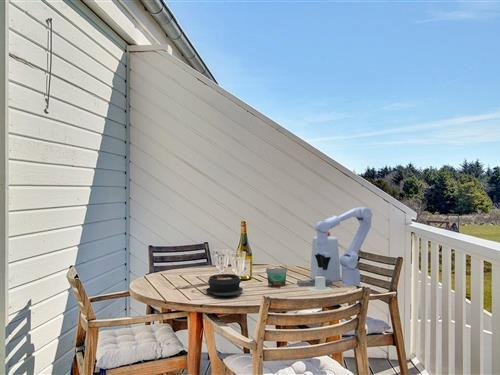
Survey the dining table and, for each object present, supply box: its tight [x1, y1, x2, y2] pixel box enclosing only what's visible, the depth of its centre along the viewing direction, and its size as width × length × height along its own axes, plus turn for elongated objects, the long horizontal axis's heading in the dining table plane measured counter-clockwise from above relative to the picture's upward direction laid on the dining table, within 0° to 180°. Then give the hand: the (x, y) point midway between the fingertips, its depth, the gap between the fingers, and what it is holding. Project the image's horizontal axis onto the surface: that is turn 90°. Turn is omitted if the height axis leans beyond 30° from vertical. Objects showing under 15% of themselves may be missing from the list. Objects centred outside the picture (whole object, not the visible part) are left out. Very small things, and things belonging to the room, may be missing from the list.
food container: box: [265, 266, 289, 288], centre depth 211 cm, size 12×6×10 cm, turn 105°
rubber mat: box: [307, 286, 334, 292], centre depth 203 cm, size 12×8×1 cm, turn 98°
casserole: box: [205, 273, 244, 297], centre depth 197 cm, size 25×19×8 cm
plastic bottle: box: [310, 231, 342, 282], centre depth 229 cm, size 15×15×28 cm
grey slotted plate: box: [296, 279, 333, 288], centre depth 213 cm, size 18×6×3 cm, turn 98°
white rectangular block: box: [314, 277, 326, 290], centre depth 203 cm, size 4×3×6 cm, turn 98°
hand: (322, 268), depth 212 cm, fingers open, 7 cm apart
